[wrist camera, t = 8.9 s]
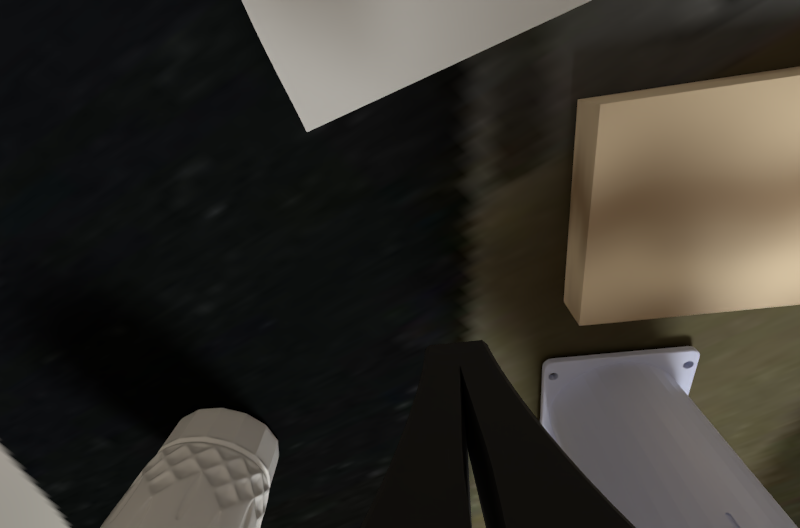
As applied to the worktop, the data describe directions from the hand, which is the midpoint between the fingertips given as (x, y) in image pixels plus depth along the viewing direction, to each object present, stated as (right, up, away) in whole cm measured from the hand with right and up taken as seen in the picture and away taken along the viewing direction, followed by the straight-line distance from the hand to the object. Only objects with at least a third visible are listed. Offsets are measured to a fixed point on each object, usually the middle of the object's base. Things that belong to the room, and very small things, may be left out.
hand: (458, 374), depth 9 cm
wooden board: (+13, +6, +7) cm, 16 cm away
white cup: (-13, -9, +16) cm, 22 cm away
